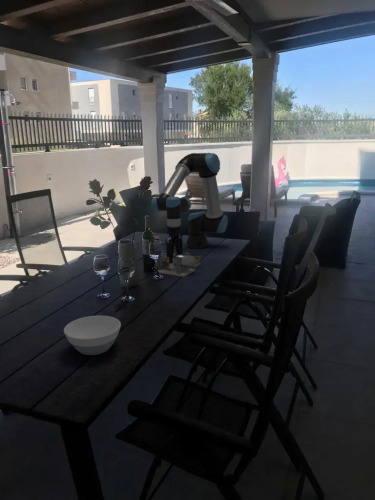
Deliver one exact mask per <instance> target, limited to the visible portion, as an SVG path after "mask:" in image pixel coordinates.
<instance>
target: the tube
mask: <svg viewBox="0 0 375 500" xmlns="http://www.w3.org/2000/svg"><path fill="white" fill-rule="evenodd" d="M161 252H162V256H161V257H160V258H159V259H160V264H161V263H167V264H169V257H167V256H166V252H163V251H161ZM173 257H174V266H176V257H181V267H183V266H188V267H193V266H194V265H195V256H194V255H190V256H189V255H184V254H183V253H182V254H177V253H174V254H173Z"/></svg>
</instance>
